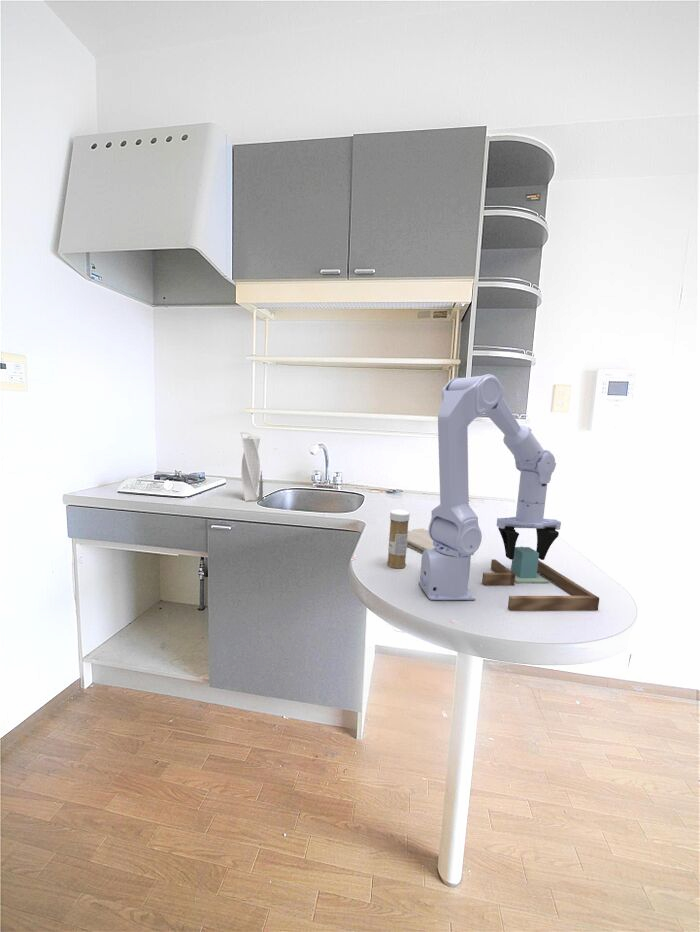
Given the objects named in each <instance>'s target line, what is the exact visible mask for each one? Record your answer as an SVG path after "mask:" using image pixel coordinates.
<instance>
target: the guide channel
mask: <svg viewBox="0 0 700 932" xmlns="http://www.w3.org/2000/svg"><path fill="white" fill-rule="evenodd" d="M490 563H491V564H490V570H491V571H492V572H482V581H481V584H482V585H483V586H515V583H516V582H515V574H514V573H513V572H511V571H510V570H509V569H507V568H508V567H507V566H505V565H503V564H502V563H501V562H500V561H498V560H497V559H491V562H490ZM537 574H538V575H540V576H541V577H543V578H544V579H546V580H547V581H549V582H551V583H552V584H554V585H555V586H557V587H558V588H560V590H562V591H564V592H566V593H567V594H568V595H509V596H508V600H507V601H508V602H507V609H508V610H509V611H510V612H522V611H523V612H524V611H528V612H529V611H530V612H535V611H536V612H537V611H538V612H540V611H542V612H544V611H546V612H547V611H550V612H551V611H562V612H563V611H598V610H599V607H600V606H599V604H600V597H599V596H597V595H595V594H594V593H592V592H590V591H589V590H587V589H586V588H585V587H582V586H581V585H579V584H578V583H576V582H575V581H573V580H572V579H570V578H568V577H566V576H565V575H563V574H562V573H560V572H558V571H557V570H555V569H554V568H552V567H550V566H549V565H547V564H546V563H544V562H542V560H541V561H540V559H539V560H538V568H537Z"/></svg>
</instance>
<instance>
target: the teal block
mask: <svg viewBox="0 0 700 932" xmlns="http://www.w3.org/2000/svg"><path fill="white" fill-rule="evenodd" d="M538 560H539V561H540V559H539V553H538V552H537V551H536V549H533V548H532V547H530V546H529V547H528V546H515V552H514V558H513V560H511V564H510V565H511V566H510V568H511V572H513V573H514V574H515V575H517V576H518V577H519V578H536V577H537V574H538V572H537V568H538Z"/></svg>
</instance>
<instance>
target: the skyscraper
mask: <svg viewBox="0 0 700 932" xmlns="http://www.w3.org/2000/svg"><path fill="white" fill-rule="evenodd" d="M243 434H246V435H247V437H244V436H243ZM240 436H241V441H242V447H243V455H242V458H241V459H242V460H241V482H242V483H241V485H242V490H243V495H242V497H241V500H243V501H245V502H246V503H253V502H255V503H256V502H264V501H265V500H264V497H263V496H264V494H263V493H264V490H263V489H264V487H263V486H264V481H263V474H262V471H263V470H261V463H260V455H259V451H258V450H259V446H260V442H261V441H260V440H261V437H259V436H256V435H253V434H251V433H250V432H246V431H242V432H240ZM258 488H259V489H258ZM257 491H258V492H257ZM257 493H258V494H257Z"/></svg>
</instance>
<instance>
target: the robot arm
mask: <svg viewBox="0 0 700 932" xmlns="http://www.w3.org/2000/svg"><path fill="white" fill-rule="evenodd" d="M504 395H505V388H504V386H503V385H502V384H501V382H500V381H499V379H498V377H497V376H496V375H493V374H490V373H488V374H487V373H486V374H484V375H477V376H469V377H453V378H451V380H449V381H448V382H447V383H446V385H444V387H442V389H441V406H440V409H439V412H438V416H437V433H438V435H437V438H438V468H439V469H438V470H439V471H438V473H439V476H438V477H439V501H440V503H439V504H438V505H437V506H436V507H434V508H433V509H432V510H431V519H430V522H429V523H428V531H429V536H430V538H431V539H432V540H433V546H434V547H435V548H433V549H430V550H424V551H423V554H422V553H421V555H422V556H421V560H420V561H421V562H420V577H419V581H418V584H419V586H420V588H421V589H422V590H423V593H424V594H425V595H426V597H427V599H428V600H430V601H475V600H476V596H475V595H474V594H473V593H472V592H471V590H469V580H470V571H471V570H470V569H471V559H472V556H474V555H475V553H476V552H477V551H478V549H479V547H480V546H481V543H482V537H483V536H482V535H483V533H482V531H481V528H480V526H479V521H478V520H479V517H478V515H477V514H476V513H475V511H474V510H473V509H472V507H471V506H470V503H469V502H470V501H469V449H468V448H469V446H468V445H469V444H468V443H469V441H468V440H469V439H468V435H469V434H468V433H469V431H468V427H469V425H470V424H472V422H473V421H474V420H475V419H477V418H478V417H480V416H481V415H483V414H485V415H486V416H487V417H488V418H489V420H491V421H492V422H493V424H494V425H495V426H496V427H497V428H498V429H499V430H500V432H502V433H503V435H504V436H503V444H504V445H505V446H506V448H507V449H508V450H509V451H510V452H511V454H512V455H513V459H514V461H515V468H516V470H518V471H519V472H520V473H519V483H518V484H519V485H518V493H517V502H516V503H517V504H516V513H515V516H512V517H497V519H496V527H497V529H498V531H499V533H500V535H501V539H502V543H503V545H504V552H505V557H506V558H507V559H508V560H511V561H512V560H513V558H514V552H515V547H516V544H517V542H518V539H519V535H520V532H517V531H516V529H535V530H536V549H535V551H537V552H538V553H539V560H541V561H545V559H546V556H547V554H548V552H549V549H550V548H551V545H552V544H553V543H554V541H555V540H556V539H557V538H558V537H559V536H560V535H559V532H560V530H561V524H562V521H560V520H557V519H553V518H552V519H551V518H544V515H545V508H546V498H547V492H548V491H547V490H548V484H550V482H551V479H552V474H553V472H554V471H555V469H556V466H557V463H556V458H555V456H554V454H553V453H552V452H551V451H550V450H547V449H544V448H543V447H542V445H541V443H540V442H539V441H538V439H537V438H536V437H535V435H534V434H533V432H532V429H531V428H530V426H526V425H523V424H522V425H521V424H520V423H519V422H518V421H517V418H516V417H515V416H514V414H513V412H512V410H511V409H510V407H509V406H508V404H507V402H506V400H505V398H504ZM557 530H558V531H557Z"/></svg>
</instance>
